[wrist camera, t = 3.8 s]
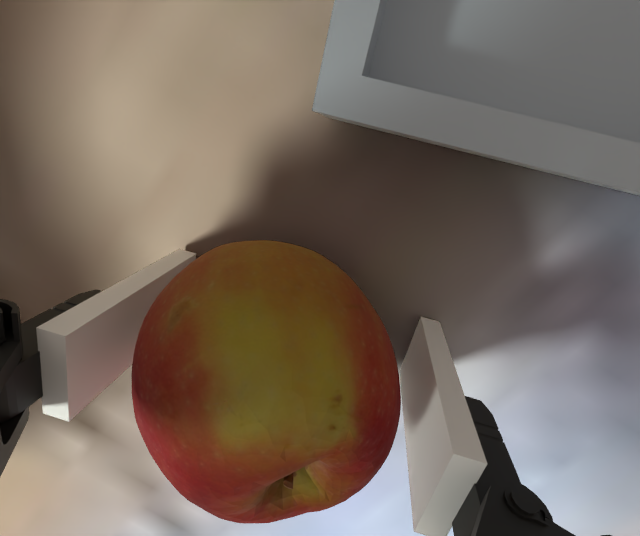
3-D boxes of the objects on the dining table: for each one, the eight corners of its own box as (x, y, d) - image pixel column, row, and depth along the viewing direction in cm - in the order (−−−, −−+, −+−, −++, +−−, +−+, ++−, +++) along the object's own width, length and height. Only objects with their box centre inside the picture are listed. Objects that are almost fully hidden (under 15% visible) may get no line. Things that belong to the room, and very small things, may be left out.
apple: (248, 400, 17) (147, 606, 9) (182, 240, 15) (-21, 347, 7) (409, 377, 15) (441, 609, 8) (364, 192, 13) (346, 266, 5)
